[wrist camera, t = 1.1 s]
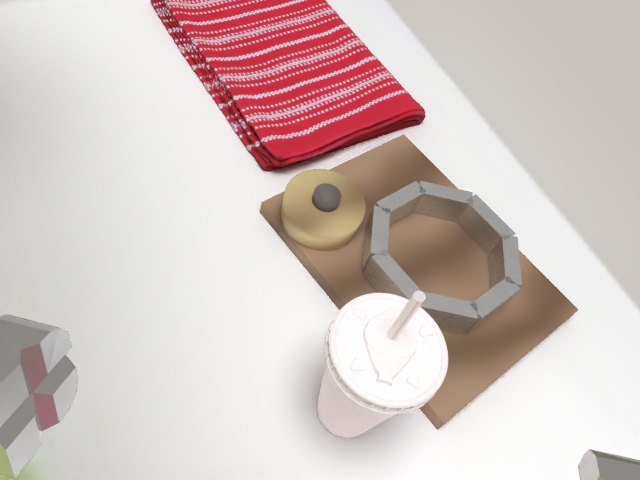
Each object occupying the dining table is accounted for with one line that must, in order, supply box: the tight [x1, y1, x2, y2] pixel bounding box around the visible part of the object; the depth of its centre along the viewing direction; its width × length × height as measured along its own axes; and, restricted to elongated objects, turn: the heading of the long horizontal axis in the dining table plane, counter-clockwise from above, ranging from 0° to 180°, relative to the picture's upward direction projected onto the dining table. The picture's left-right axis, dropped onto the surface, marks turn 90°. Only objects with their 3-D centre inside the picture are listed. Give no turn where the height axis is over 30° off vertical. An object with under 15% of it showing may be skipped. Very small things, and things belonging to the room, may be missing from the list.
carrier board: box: [260, 135, 578, 429], centre depth 44 cm, size 20×15×4 cm
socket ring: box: [361, 181, 522, 335], centre depth 44 cm, size 11×11×2 cm
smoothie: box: [317, 291, 448, 438], centre depth 32 cm, size 6×6×14 cm
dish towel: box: [151, 0, 425, 172], centre depth 55 cm, size 17×24×3 cm
